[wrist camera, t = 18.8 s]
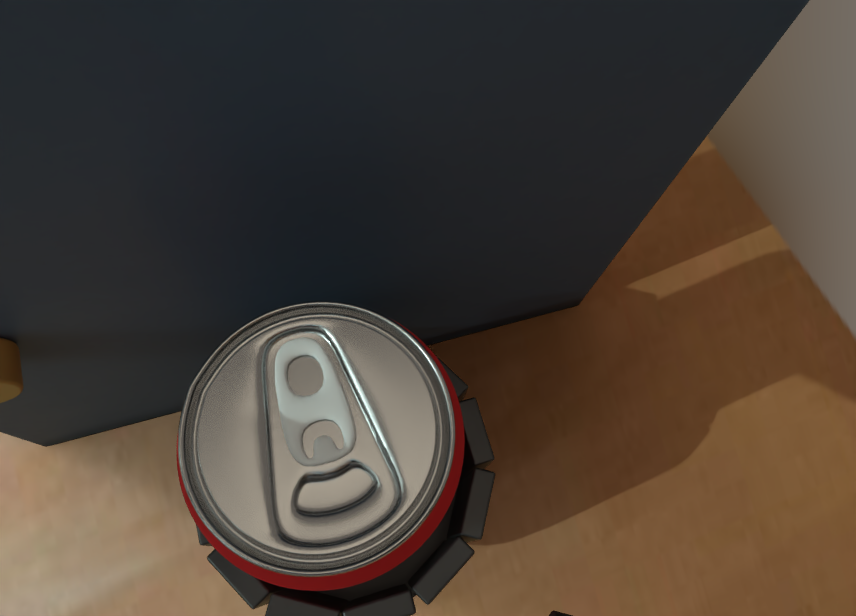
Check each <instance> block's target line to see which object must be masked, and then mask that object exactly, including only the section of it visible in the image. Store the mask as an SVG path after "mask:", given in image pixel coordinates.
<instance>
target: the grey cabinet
mask: <svg viewBox="0 0 856 616" xmlns="http://www.w3.org/2000/svg"><path fill="white" fill-rule="evenodd" d="M808 1H809V0H0V432H2V433H5V434H8V435H11V436H14V437H17V438H21V439H24V440H27V441H30V442H33V443H36V444H39V445H42V446H46V447H47V446H50V445H54V444H58V443H62V442H66V441H69V440H73V439H77V438H81V437H84V436H88V435H92V434H96V433H99V432H103V431H107V430H111V429H114V428H118V427H122V426H126V425H129V424H133V423H137V422H141V421H145V420H148V419H152V418H156V417H160V416H163V415H167V414H171V413H175V412H178V411H182V407H183V403H184V399H185V396H186V392H187V389H188V386H189V384H190V383H191V381H192V379H193V378H194V376H195V375H196V373H197V372H198V370H199V369H200V367H201V366H202V364H203V363H204V362H205V360H206V359H207V358H208V356H209V355H210V354H211V353H212V352H213V350H214V349H215V348H216V347H217V346H218V345H219V344H220V343H221V342H222V341H223V340H224V339H225V338H226V337H227V336H229V335H230V334H231V333H232V332H233V331H235V330H236V329H237V328H239V327H240V326H242V325H243V324H245V323H246V322H248V321H250V320H251V319H253V318H255V317H257V316H259V315H261V314H263V313H265V312H268V311H270V310H273V309H275V308H278V307H282V306H285V305H289V304H293V303H299V302H305V301H339V302H346V303H351V304H355V305H359V306H362V307H366V308H368V309H371V310H374V311H376V312H378V313H380V314H382V315H385V316H386V317H388V318H390V319H392V320H394V321H396V322H398V323H399V324H401V325H402V326H404V327H405V328H407V329H408V330H410V331H411V332H412V333H413V334H415V335H416V336H417V337H418V338H419V339H420V340H421V341H422V342H424V343H425V344H426V346H427V345H430V344H434V343H438V342H442V341H446V340H449V339H453V338H457V337H461V336H464V335H468V334H472V333H476V332H479V331H483V330H487V329H491V328H494V327H498V326H502V325H506V324H509V323H513V322H517V321H521V320H525V319H528V318H532V317H536V316H540V315H543V314H547V313H551V312H555V311H558V310H562V309H566V308H570V307H573V306H577V305H579V304H580V302H581V301H582V300H583V298H584V297H585V296H586V294H587V293H588V292H589V290H590V289H591V288H592V286H593V285H594V284H595V282H596V281H597V280H598V278H599V277H600V276H601V274H602V273H603V272H604V271H605V269H606V268H607V267H608V265H609V264H610V263H611V261H612V260H613V259H614V257H615V256H616V255H617V253H618V252H619V251H620V249H621V248H622V247H623V245H624V244H625V243H626V242H627V240H628V239H629V238H630V236H631V235H632V234H633V232H634V231H635V230H636V228H637V227H638V226H639V224H640V223H641V222H642V220H643V219H644V218H645V216H646V215H647V214H648V213H649V211H650V210H651V209H652V207H653V206H654V205H655V203H656V202H657V201H658V199H659V198H660V197H661V195H662V194H663V193H664V191H665V190H666V189H667V187H668V186H669V185H670V184H671V182H672V181H673V180H674V178H675V177H676V176H677V174H678V173H679V172H680V170H681V169H682V168H683V166H684V165H685V164H686V162H687V161H688V160H689V158H690V157H691V156H692V154H693V153H694V152H695V151H696V149H697V148H698V147H699V145H700V144H701V143H702V141H703V140H704V139H705V137H706V136H707V135H708V133H709V132H710V131H711V129H712V128H713V127H714V125H715V124H716V122H717V121H718V120H719V119H720V118H721V116H722V115H723V114H724V112H725V111H726V109H727V108H728V107H729V106H730V104H731V103H732V102H733V100H734V99H735V98H736V96H737V95H738V94H739V93H740V91H741V90H742V88H743V87H744V86H745V85H746V83H747V82H748V81H749V79H750V78H751V77H752V75H753V74H754V73H755V71H756V70H757V69H758V67H759V66H760V65H761V64H762V62H763V61H764V60H765V58H766V57H767V56H768V54H769V53H770V52H771V50H772V49H773V48H774V46H775V45H776V43H777V42H778V41H779V40H780V38H781V37H782V36H783V35H784V33H785V32H786V31H787V29H788V28H789V26H790V25H791V24H792V23H793V21H794V20H795V19H796V17H797V16H798V15H799V13H800V12H801V11H802V9H803V8H804V7H805V5H806V4H807V3H808ZM434 355H435V354H434ZM435 356H436V355H435ZM436 357H437V356H436ZM437 359H438V360H439V361H440V363H441V364H442V366H443V367H444V369H445V371H446V372H447V374H448V376H449V378H450V380H451V382H452V384H453V387H454V389H455V392H456V394H457V397H458V401H459V404H460V408H461V412H462V417H463V425H464V438H465V444H464V458H463V466H462V471H461V476H460V479H459V483H458V486H457V489H456V492H455V495H454V497H453V499H452V502H451V504H450V506H449V508H448V510H447V512H446V514H445V515H444V517H443V519H442V520H441V522H440V523H439V525H438V526H437V528H436V529H435V530H434V532H433V533H432V534H431V536H430V537H429V538H428V539H427V540H426V541H425V542H424V544H423V545H422V546H421V547H420V548H419V549H418V550H416V551H415V552H414V553H413V554H412V555H411V556H410V557H408V558H407V559H406V560H405V561H403V562H402V563H400V564H399V565H398V566H396V567H395V568H393V569H391V570H390V571H388V572H386V573H384V574H382V575H380V576H378V577H376V578H374V579H372V580H369V581H366V582H364V583H361V584H357V585H354V586H350V587H346V588H341V589H334V590H325V591H307V590H296V589H289V588H285V587H281V586H277V585H273V584H270V583H267V582H265V581H262V580H260V579H257V578H255V577H253V576H251V575H249V574H247V573H246V572H244V571H242V570H241V569H239V568H238V567H236V566H235V565H233V564H232V563H231V562H229V561H228V560H227V559H226V558H224V557H223V556H222V555H221V554H220V553H219V552H218V551H217V550H216V549H214V550H213V551H212V552H211V553H210V554H209V555H208V557H207V559H208V561H209V562H210V563H211V564H212V565H213V566H214V568H215V569H216V570H217V571H218V572H219V573H220V574H221V575H222V576H223V577H224V579H225V580H226V581H227V582H228V583H229V584H230V585H231V586H232V587H233V589H234V590H235V591H236V592H237V593H238V594H239V595H240V596H241V597H242V598H243V600H244V601H245V602H246V603H247V604H248V605H249V606H250V607H251V608H252V609H255V608H258V607H260V606H263V605H265V604H268V603H269V604H268V608H267V611H266V614H265V616H410V615H413V614H415V613H416V609H415V605H414V601H413V597H414V596H416V595H418V596H419V597H420V598H421V599H422V600H423V601H424V602H425V603H426V604H427V605H428V604H430V603H431V602H432V601H433V600H434V599H435V597H436V596H437V595H438V594H439V593H440V592H441V591H442V590H443V588H444V587H445V586H446V585H447V584H448V583H449V582H450V580H451V579H452V578H453V577H454V576H455V575H456V574H457V573H458V571H459V570H460V569H461V568H462V567H463V566H464V565H465V564H466V562H467V561H468V560H469V559H470V558H471V557H472V556H473V554H474V550H473V549H472V548H471V547H470V546H469V545H468V544H467V543H466V542H470V541H475V540H481V539H482V536H483V531H484V526H485V521H486V516H487V512H488V507H489V502H490V497H491V493H492V488H493V483H494V478H495V473H494V472H492V471H488V470H484V469H485V468H486V467H487V466H488V465H489V464H490V463H491V462H492V461H493V460H494V455H493V452H492V448H491V445H490V442H489V439H488V436H487V432H486V429H485V426H484V423H483V420H482V417H481V413H480V410H479V407H478V404H477V401H476V398H470V399H467V400H463V401H462V399H463V397H464V395H465V393H466V391H467V389H468V385H466V384H465V383H464V382H463V381H462V380H461V379H460V378H459V377H458V376H457V375H456V374H455V373H454V372H453V371H452V370H450V369H449V368H448V367H447V366H446V365H445V364H444V363H443V362H442V361H441V360H440V359H439V358H438V357H437ZM196 527H197V532H198V537H199V543H200V545H203V546H212V545H211V544H210V543H209V541H208V540H207V539H206V537H205V536H204V535H203V534H202V532H201V531H200V529H199V528H198V526H197V524H196Z"/></svg>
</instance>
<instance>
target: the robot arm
mask: <svg viewBox="0 0 856 616" xmlns="http://www.w3.org/2000/svg"><path fill="white" fill-rule="evenodd" d="M549 616H572V615H568V614H565V613H561V612H557V611H552V612H551V613H550V615H549Z"/></svg>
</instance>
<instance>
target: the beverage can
mask: <svg viewBox="0 0 856 616" xmlns="http://www.w3.org/2000/svg"><path fill="white" fill-rule="evenodd" d="M464 444H465V438H464V425H463V417H462V412H461V408H460V404H459V401H458V397H457V394H456V392H455V389H454V387H453V384H452V382H451V380H450V378H449V376H448V374H447V372H446V371H445V369H444V367H443V366H442V364H441V363H440V361H439V360H438V359H437V357H436V356H435V355H434V353H433V352H432V351H431V350H430V349H429V348H428V347H427V346H426V344H425V343H424V342H422V341H421V340H420V339H419V338H418V337H417V336H416V335H415V334H413V333H412V332H411V331H410V330H408V329H407V328H405V327H404V326H402V325H401V324H399V323H398V322H396V321H394V320H392V319H390V318H388V317H386V316H385V315H382V314H380V313H378V312H376V311H374V310H371V309H368V308H366V307H362V306H359V305H355V304H351V303H346V302H339V301H305V302H299V303H293V304H289V305H285V306H282V307H278V308H275V309H273V310H270V311H268V312H265V313H263V314H261V315H259V316H257V317H255V318H253V319H251V320H250V321H248V322H246V323H245V324H243V325H242V326H240V327H239V328H237V329H236V330H235V331H233V332H232V333H231V334H230V335H229V336H227V337H226V338H225V339H224V340H223V341H222V342H221V343H220V344H219V345H218V346H217V347H216V348H215V349H214V350H213V352H212V353H211V354H210V355H209V356H208V358H207V359H206V360H205V362H204V363H203V364H202V366H201V367H200V369H199V370H198V372H197V373H196V375H195V376H194V378H193V379H192V381H191V383H190V384H189V386H188V389H187V392H186V396H185V399H184V403H183V407H182V411H181V416H180V422H179V429H178V436H177V468H178V475H179V481H180V485H181V489H182V493H183V496H184V499H185V502H186V504H187V507H188V509H189V511H190V513H191V515H192V517H193V519H194V521H195V523H196V524H197V526H198V528H199V529H200V531H201V532H202V534H203V535H204V536H205V537H206V539H207V540H208V541H209V543H210V544H211V545H212V546H213V547H214V548H215V549H216V550H217V551H218V552H219V553H220V554H221V555H222V556H223V557H224V558H226V559H227V560H228V561H229V562H231V563H232V564H233V565H235V566H236V567H238V568H239V569H241V570H242V571H244V572H246V573H247V574H249V575H251V576H253V577H255V578H257V579H260V580H262V581H265V582H267V583H270V584H273V585H277V586H281V587H285V588H289V589H296V590H307V591H325V590H334V589H341V588H346V587H350V586H354V585H357V584H361V583H364V582H366V581H369V580H372V579H374V578H376V577H378V576H380V575H382V574H384V573H386V572H388V571H390V570H391V569H393V568H395V567H396V566H398V565H399V564H400V563H402V562H403V561H405V560H406V559H407V558H408V557H410V556H411V555H412V554H413V553H414V552H415V551H416V550H418V549H419V548H420V547H421V546H422V545H423V544H424V542H425V541H426V540H427V539H428V538H429V537H430V536H431V534H432V533H433V532H434V530H435V529H436V528H437V526H438V525H439V523H440V522H441V520H442V519H443V517H444V515H445V514H446V512H447V510H448V508H449V506H450V504H451V502H452V499H453V497H454V495H455V492H456V489H457V486H458V483H459V479H460V476H461V471H462V466H463V458H464Z"/></svg>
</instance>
